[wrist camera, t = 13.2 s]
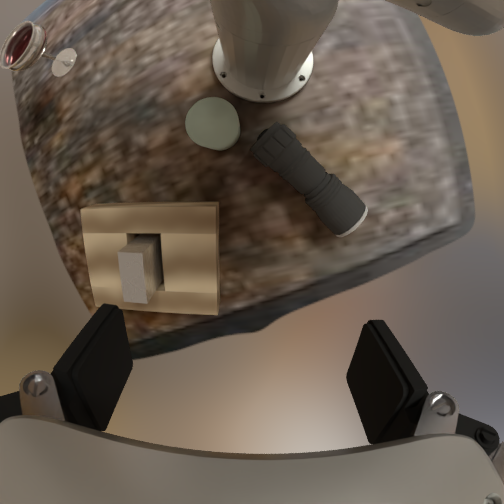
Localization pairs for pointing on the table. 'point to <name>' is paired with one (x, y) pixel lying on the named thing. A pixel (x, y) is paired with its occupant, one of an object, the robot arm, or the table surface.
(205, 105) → the round bit
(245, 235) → the table surface
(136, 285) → the block
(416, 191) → the table surface
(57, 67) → the wineglass
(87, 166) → the table surface
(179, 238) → the socket block
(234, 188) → the table surface
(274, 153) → the flashlight
